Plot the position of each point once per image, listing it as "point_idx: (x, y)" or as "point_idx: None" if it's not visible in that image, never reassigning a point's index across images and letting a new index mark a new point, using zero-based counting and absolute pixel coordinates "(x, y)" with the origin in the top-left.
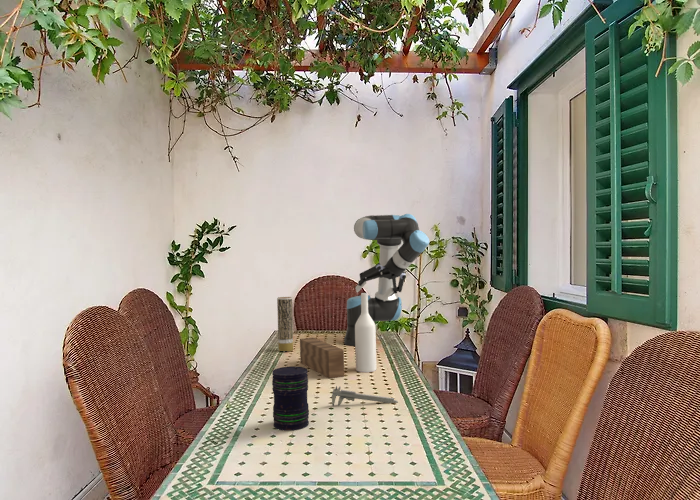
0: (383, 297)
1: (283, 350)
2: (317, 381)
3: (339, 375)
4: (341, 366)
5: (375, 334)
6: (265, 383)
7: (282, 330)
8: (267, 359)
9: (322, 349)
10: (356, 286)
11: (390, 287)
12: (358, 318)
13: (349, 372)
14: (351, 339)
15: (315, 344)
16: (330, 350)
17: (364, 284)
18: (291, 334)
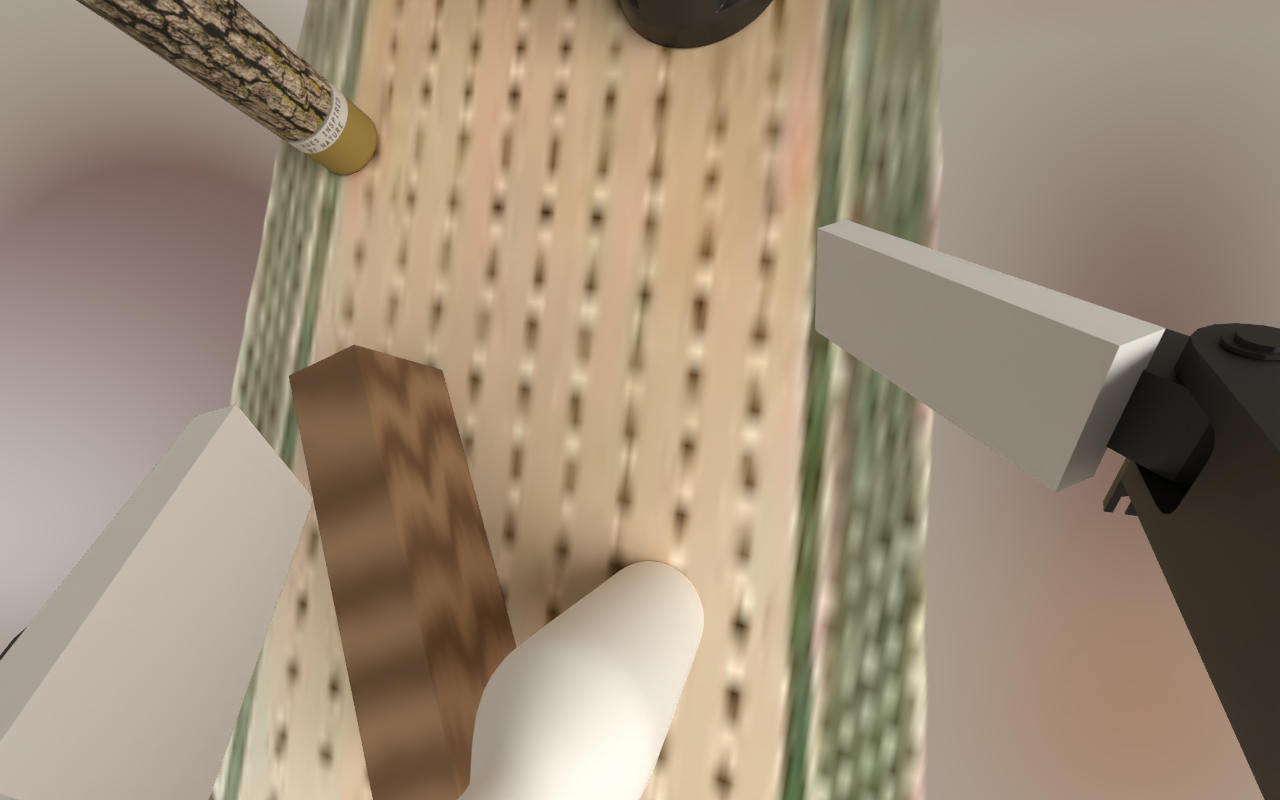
0: (826, 281)
1: (335, 172)
2: None
3: None
4: None
5: (665, 734)
6: (246, 723)
7: (239, 109)
8: (279, 305)
9: (360, 715)
10: (185, 445)
11: (1078, 331)
12: (471, 762)
13: None
14: (642, 8)
15: (340, 570)
16: (388, 793)
17: (205, 770)
18: (304, 105)
